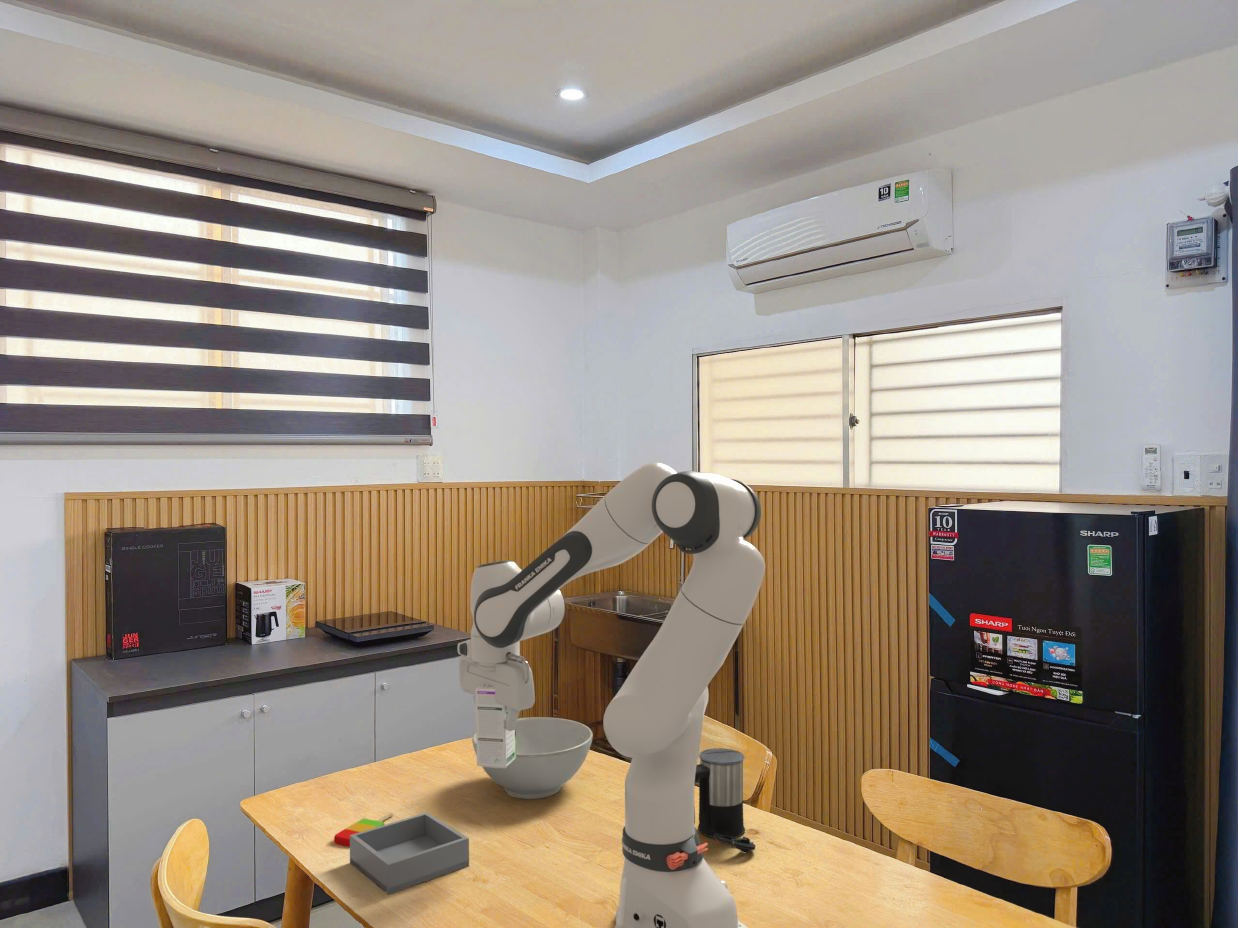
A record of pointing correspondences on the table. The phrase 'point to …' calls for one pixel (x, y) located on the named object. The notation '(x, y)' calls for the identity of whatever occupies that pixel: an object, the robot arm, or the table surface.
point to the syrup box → (492, 731)
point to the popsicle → (358, 829)
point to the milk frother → (722, 797)
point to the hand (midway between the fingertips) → (496, 724)
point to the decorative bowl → (542, 756)
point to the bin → (408, 852)
